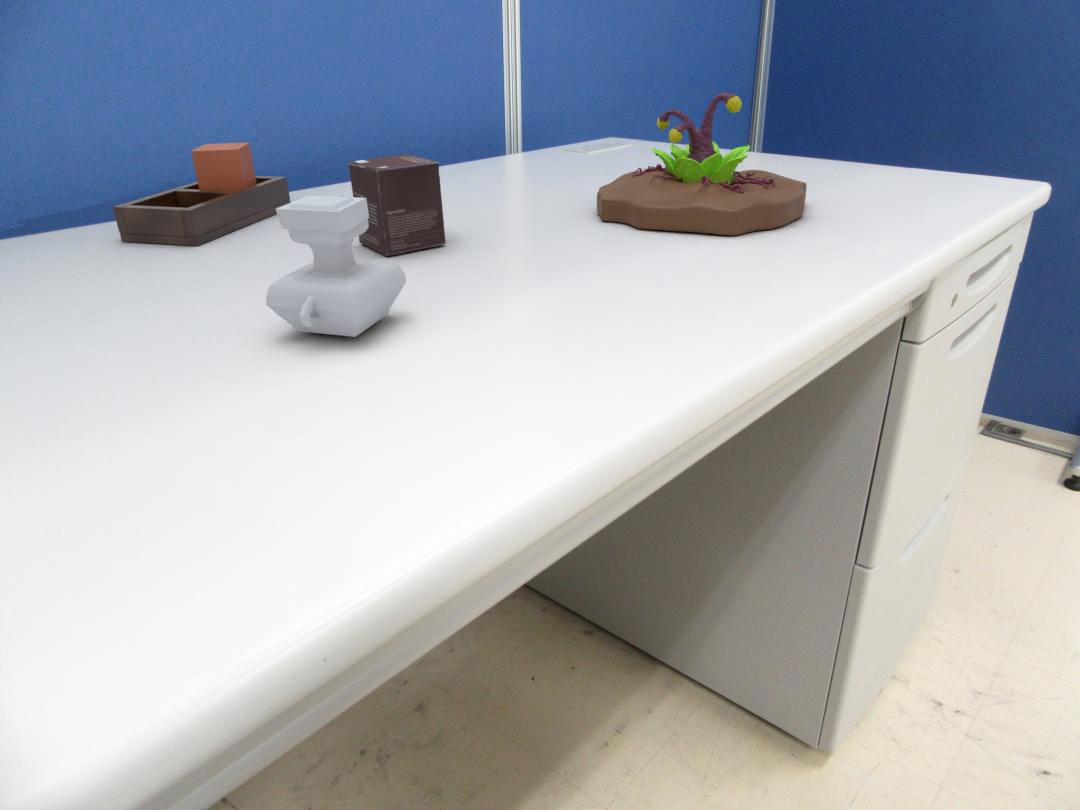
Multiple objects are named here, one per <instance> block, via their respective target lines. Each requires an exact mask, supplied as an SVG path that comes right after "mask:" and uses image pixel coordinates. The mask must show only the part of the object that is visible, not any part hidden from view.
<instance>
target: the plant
mask: <svg viewBox="0 0 1080 810" xmlns="http://www.w3.org/2000/svg"><path fill="white" fill-rule="evenodd" d="M720 102H723V103H724V105H725V108H726V109H727V111H729V113H731V114H732V113H733V114H736V113H740V110H741V109H742V105H743V103H742V102H743V101H742V99H741V98H740V96H738V95H736V94H735V93H730V92H720V93H718V94H717V95H716V96H715V97H713V98H712V100H711V102H710V103H709V105H708V106H707V107H706V110H705V111H704V116H703V118H702V123H700V124H701V125H700V130H699V129H698V128H697V126H696V125H695V122H693V119H692V118H690V117H689V115H687V114H686V113H683V112H682V111H680V110H679V109H677V110H676V109H673V108H672V109H671V110H667V111H665V112H663V113H662V114H660V115H659V117H658V118H657V120H656V127H657V128H658V129H659V130H661V131H664V130H666V129H667V128H668V127H669V126H670V116H673V117H676V118H677V119H678V120H681V122H682V123H680V124H677V125H676V126H673V127H672V128H671V129H670V130H669V133H668V140H669V143H670V144H669V147H670V150H671V151H670V154H668V153H667V152H665V151H663V150H659V149H657V148H656V149H655V148H654V147H652V148H651V152H653V153H654V154H655V156H656V157H658V158H659V159H661V161H662V162H663V164H664V167H663V166H662V164H660V163H657V164H656V165H655V166H653V165H651V166H650V165H648V166H647V168H644V169H643V168H641V167H637V169H636V170H634V171H629V172H627V173H624V174H622V175H620V176H618V177H617V178H616V179H614V180H612V181H611V182H609V183H607V184H604V185H601V186H600V187H599V188H598V191H597V192H596V212H597V214H598V215H599V216H600V221H603V222H614V223H623V224H626V225H630V226H633V227H634V228H636V229H640V230H641V229H642V230H653V231H655V230H656V231H666V232H667V231H668V232H683V233H698V234H708V235H720V236H731V237H732V236H739V235H744V234H747V233H751V232H757V231H763V230H764V231H765V230H772V229H776V228H780V227H784V226H787V225H788V224H790V223H791V222H794V221H796V220H797V219H800V218H801V217H803V216H804V211H805V205H806V204H805V203H806V199H807V198H806V197H807V187H808V186H807V183H806V182H804V181H801V180H796V179H794V178H789V177H786V176H783V175H780V174H777V173H775V172H774V173H773V172H771V171H768V170H767V171H766V170H762V169H746V170H740V171H739V170H737V171H736V169H737V167H738V166H739V164H741V163H743V161H744V160H745V159H746V158H748V157H749V155H748V154H746V153H747V152H748V151H749V150H750V149H751V146H750V145H749V144H747V145H742V146H738V147H735V148H733V149H732V150H730V151H728V152H727V153H725V155H724V156H723V154H722V153H721V152H720V147H719V145H718V144H717V142H716V141H713V140H712V139H713V132H712V129H713V127H714V125H713V124H714V123H713V119H714V118H715V116H714V114H715V112H716V110H717V106H718V104H719V103H720ZM685 130H686V132H687V138H688V143H687V144H686V145H685V149H683V148H682V147H679V146H678V145H676V144H678V143H680V142H681V141H682V139H683V137H684V133H685V132H684V131H685Z"/></svg>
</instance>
